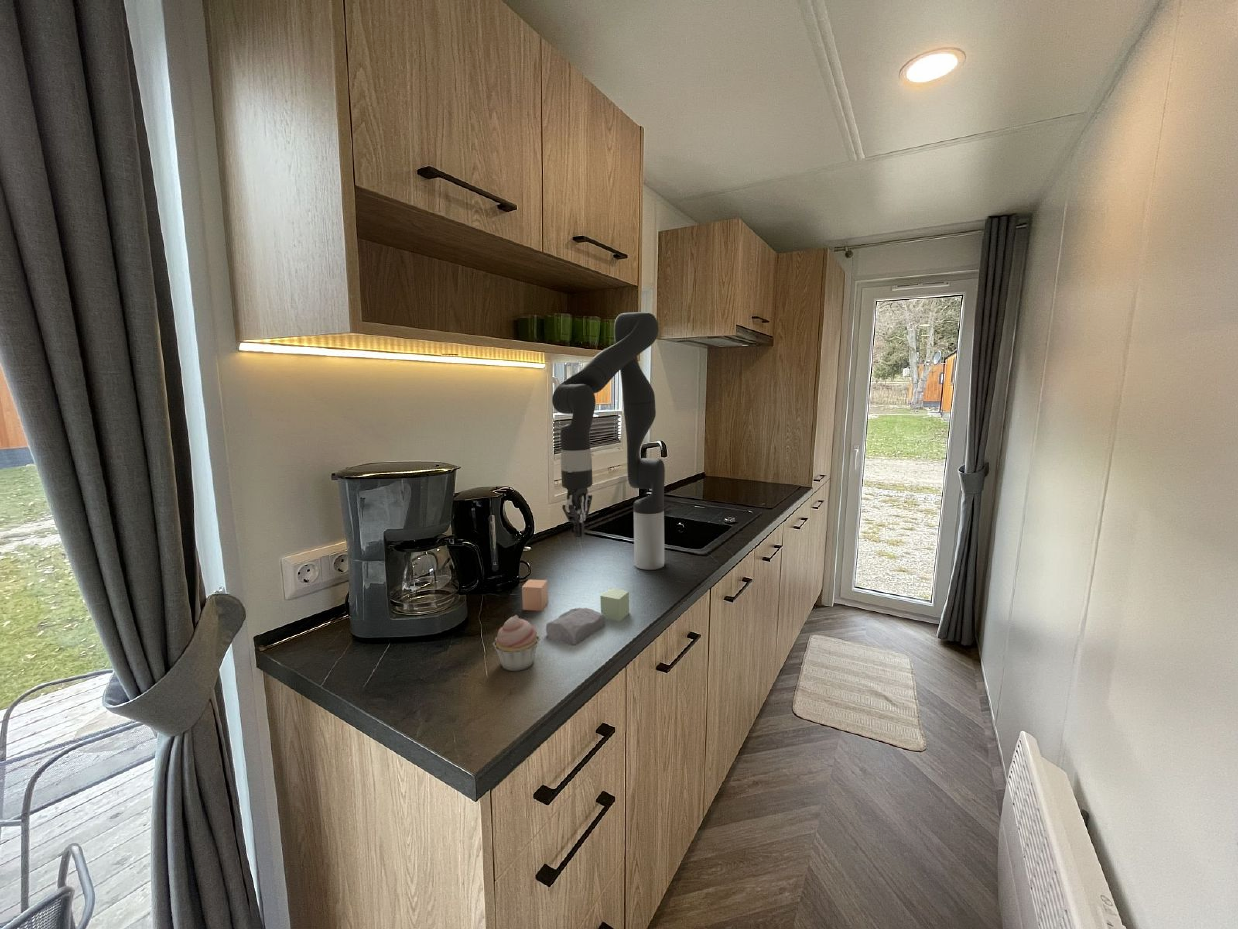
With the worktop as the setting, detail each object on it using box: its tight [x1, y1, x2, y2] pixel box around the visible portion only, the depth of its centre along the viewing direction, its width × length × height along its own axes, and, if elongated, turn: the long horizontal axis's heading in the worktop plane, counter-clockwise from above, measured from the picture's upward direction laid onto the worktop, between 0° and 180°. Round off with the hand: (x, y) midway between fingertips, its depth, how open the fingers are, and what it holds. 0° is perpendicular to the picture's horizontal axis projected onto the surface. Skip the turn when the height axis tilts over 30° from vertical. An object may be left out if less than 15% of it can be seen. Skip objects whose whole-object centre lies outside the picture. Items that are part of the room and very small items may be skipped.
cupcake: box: [492, 614, 542, 672], centre depth 99 cm, size 9×9×10 cm
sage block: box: [599, 588, 630, 622], centre depth 120 cm, size 5×5×6 cm
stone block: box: [545, 607, 606, 646], centre depth 113 cm, size 12×5×10 cm
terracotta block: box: [521, 579, 549, 612], centre depth 126 cm, size 5×5×6 cm
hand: (579, 536), depth 124 cm, fingers closed
